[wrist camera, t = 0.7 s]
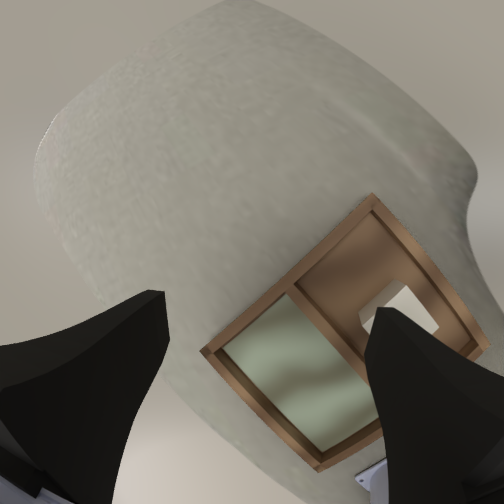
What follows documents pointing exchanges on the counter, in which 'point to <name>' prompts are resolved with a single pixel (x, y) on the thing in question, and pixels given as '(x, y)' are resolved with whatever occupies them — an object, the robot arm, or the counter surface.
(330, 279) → the sorting tray
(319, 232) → the counter surface
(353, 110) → the counter surface
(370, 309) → the stone block
